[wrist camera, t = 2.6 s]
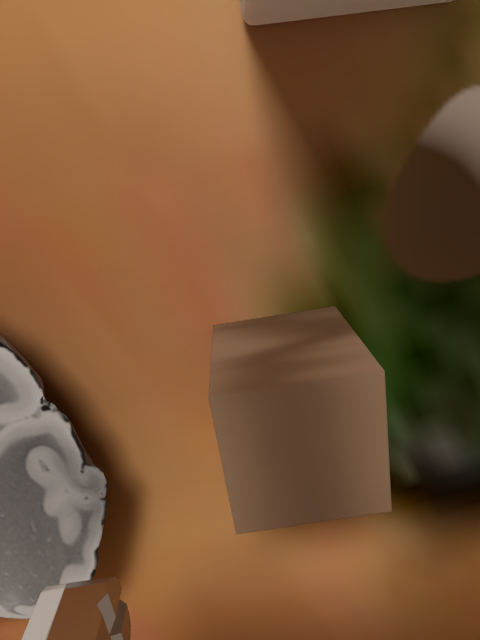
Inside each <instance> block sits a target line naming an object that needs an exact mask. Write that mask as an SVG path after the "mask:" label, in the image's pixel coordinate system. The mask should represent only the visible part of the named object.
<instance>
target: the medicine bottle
mask: <svg viewBox="0 0 480 640" xmlns="http://www.w3.org/2000/svg"><path fill="white" fill-rule="evenodd" d="M452 1H454V0H240V4H241V14H242V17H243V20H244V21H245V22H246V23H247V24H248V25H253V26H256V25H264V24H272V23H280V22H289V21H297V20H305V19H313V18H321V17H330V16H338V15H346V14H354V13H363V12H371V11H379V10H387V9H395V8H404V7H412V6H420V5H428V4H436V3H445V2H452Z"/></svg>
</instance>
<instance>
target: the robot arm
mask: <svg viewBox="0 0 480 640" xmlns="http://www.w3.org/2000/svg"><path fill="white" fill-rule="evenodd" d="M121 590H122V588H121V585H120V583H119V580H118V577H107V578H100V579H93V580H86V581H78V582H71V583H68V584H61V585H54V586H47V587H46V588H45V589H44V590H43V591H42V592H41V594H40V596H39V598H38V601H37V603H36V605H35V608H34V610H33V613H32V615H31V617H30V620H29V622H28V625H27V627H26V630H25V632H24V634H23V637H22V639H21V640H130V638H131V622H130V615H129V611H128V607H127V604H126V603H124V602H123V601H121V600H120V594H121Z"/></svg>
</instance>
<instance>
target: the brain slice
mask: <svg viewBox="0 0 480 640" xmlns="http://www.w3.org/2000/svg"><path fill="white" fill-rule="evenodd" d="M44 396H45V395H44V384H43V381H42V379H41V377H40V376H39V375H38V374H37V372H36V371H35V370H34V369H33V368H32V366H31V365H30V364H29V363H28V362H27V360H26V359H25V358H24V357H23V356H22V355H21V354H20V353H19V352H18V351H17V350H16V348H15V347H14V346H13V345H12V344H11V343H10V342H9V341H8V340H6V339H5V338H4V337H3V336H2V335H1V334H0V617H4V618H13V619H30V617H31V615H32V613H33V610H34V608H35V605H36V603H37V601H38V598H39V596H40V594H41V592H42V591H43V590H44V589H45V588H46V587H47V586H54V585H61V584H68V583H71V582H78V581H86V580H92V578H93V576H94V574H95V572H96V568H97V563H98V559H99V558H98V548H99V544H100V541H101V537H102V531H103V526H104V520H105V513H106V506H107V502H106V500H105V496H106V490H107V481H106V479H105V476H104V474H103V472H102V471H101V470H100V469H99V468H97V467H96V466H95V465H94V464H93V461H92V459H91V458H90V456H89V455H88V454H87V453H86V451H85V449H84V447H83V445H82V443H81V441H80V439H79V437H78V435H77V433H76V431H75V429H74V427H73V425H72V423H71V422H70V420H69V419H68V417H67V416H66V415H65V414H63V413H62V412H60V410H59V409H58V408H57V407H56V406H55V405H54V404H53V403H51V402H49V401H47V400H46V399H45V397H44Z"/></svg>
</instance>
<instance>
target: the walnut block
mask: <svg viewBox="0 0 480 640" xmlns="http://www.w3.org/2000/svg"><path fill="white" fill-rule="evenodd" d="M209 403H210V408H211V412H212V417H213V422H214V427H215V432H216V437H217V442H218V447H219V452H220V457H221V462H222V467H223V472H224V477H225V481H226V486H227V491H228V496H229V501H230V506H231V511H232V516H233V521H234V526H235V531H236V534H242V533H249V532H256V531H262V530H269V529H276V528H283V527H289V526H296V525H303V524H310V523H316V522H323V521H330V520H337V519H343V518H350V517H357V516H363V515H370V514H377V513H384V512H390V511H392V509H391V489H390V469H389V449H388V430H387V410H386V390H385V371H384V370H383V368H382V367H381V366H380V364H379V363H378V362H377V361H376V359H375V358H374V357H373V355H372V354H371V353H370V351H369V350H368V349H367V347H366V346H365V345H364V344H363V342H362V341H361V340H360V338H359V337H358V336H357V334H356V333H355V332H354V330H353V329H352V328H351V327H350V325H349V324H348V323H347V321H346V320H345V319H344V317H343V316H342V315H341V313H340V312H339V311H338V310H337V308H336V307H335V306H333V307H327V308H320V309H314V310H307V311H301V312H295V313H288V314H282V315H276V316H269V317H263V318H257V319H250V320H244V321H237V322H231V323H225V324H218V325H213V338H212V353H211V369H210V384H209Z"/></svg>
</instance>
